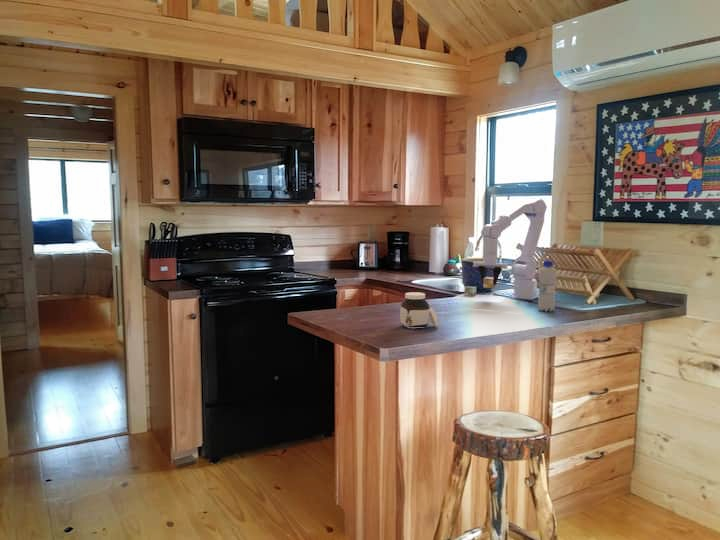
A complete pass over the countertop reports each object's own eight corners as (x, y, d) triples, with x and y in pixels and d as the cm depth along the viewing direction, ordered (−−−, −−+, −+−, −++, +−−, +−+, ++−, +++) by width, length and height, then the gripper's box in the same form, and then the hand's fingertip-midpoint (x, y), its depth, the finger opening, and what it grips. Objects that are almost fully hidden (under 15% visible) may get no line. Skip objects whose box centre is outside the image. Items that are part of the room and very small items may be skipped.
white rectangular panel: (506, 298, 258) (506, 296, 258) (495, 303, 244) (495, 302, 244) (463, 294, 268) (463, 293, 268) (450, 299, 254) (450, 298, 254)
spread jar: (396, 325, 201) (397, 292, 200) (421, 322, 208) (421, 289, 206) (419, 332, 191) (420, 297, 190) (444, 328, 198) (445, 294, 196)
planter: (473, 287, 288) (474, 257, 287) (503, 291, 277) (505, 259, 275) (453, 291, 277) (454, 259, 275) (484, 295, 265) (485, 262, 263)
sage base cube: (476, 295, 262) (476, 286, 261) (473, 296, 258) (473, 287, 258) (467, 294, 264) (467, 286, 263) (464, 296, 260) (464, 287, 260)
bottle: (546, 312, 225) (548, 261, 223) (533, 309, 231) (535, 260, 228) (558, 311, 228) (561, 260, 226) (546, 308, 234) (548, 259, 232)
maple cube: (495, 286, 249) (495, 277, 249) (492, 288, 246) (492, 278, 245) (486, 286, 251) (486, 277, 251) (483, 287, 248) (483, 278, 247)
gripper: (470, 252, 247) (470, 284, 249) (504, 254, 240) (503, 286, 242) (476, 251, 253) (475, 282, 255) (509, 253, 246) (508, 284, 248)
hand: (489, 284), depth 249 cm, fingers closed on maple cube, 4 cm apart
